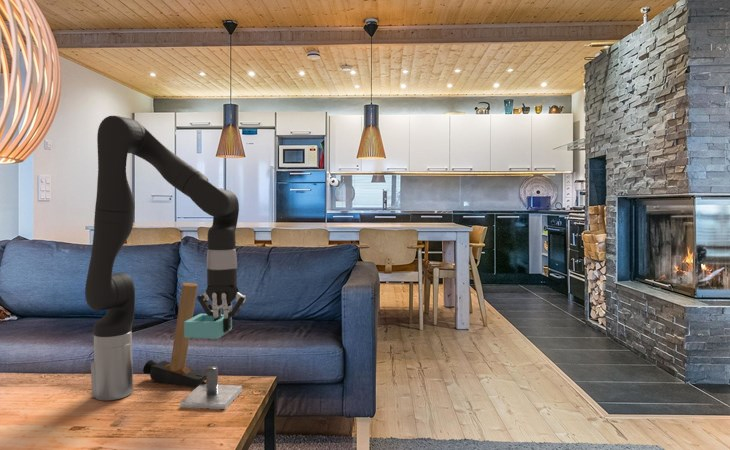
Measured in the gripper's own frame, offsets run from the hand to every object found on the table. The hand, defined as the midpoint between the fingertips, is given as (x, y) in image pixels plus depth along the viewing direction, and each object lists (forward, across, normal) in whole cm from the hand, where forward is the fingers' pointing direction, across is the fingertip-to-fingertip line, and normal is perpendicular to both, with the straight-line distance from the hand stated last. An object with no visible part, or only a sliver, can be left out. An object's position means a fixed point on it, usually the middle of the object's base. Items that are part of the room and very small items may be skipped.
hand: (222, 331), depth 127 cm
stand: (+19, -4, +1) cm, 19 cm away
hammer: (+19, -19, +12) cm, 29 cm away
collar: (+1, -4, 0) cm, 4 cm away
